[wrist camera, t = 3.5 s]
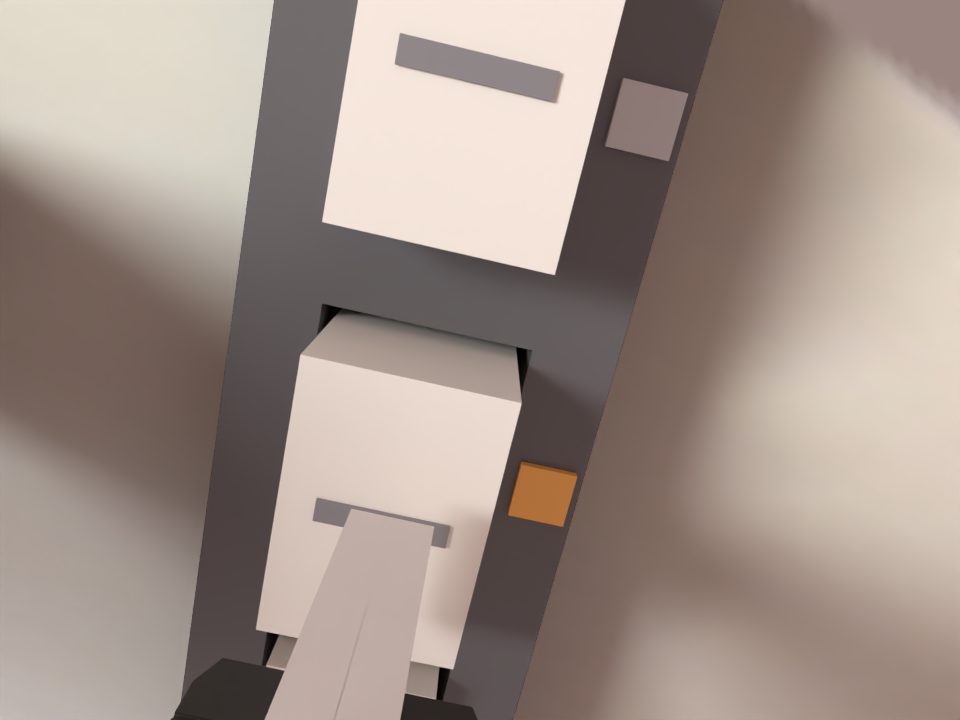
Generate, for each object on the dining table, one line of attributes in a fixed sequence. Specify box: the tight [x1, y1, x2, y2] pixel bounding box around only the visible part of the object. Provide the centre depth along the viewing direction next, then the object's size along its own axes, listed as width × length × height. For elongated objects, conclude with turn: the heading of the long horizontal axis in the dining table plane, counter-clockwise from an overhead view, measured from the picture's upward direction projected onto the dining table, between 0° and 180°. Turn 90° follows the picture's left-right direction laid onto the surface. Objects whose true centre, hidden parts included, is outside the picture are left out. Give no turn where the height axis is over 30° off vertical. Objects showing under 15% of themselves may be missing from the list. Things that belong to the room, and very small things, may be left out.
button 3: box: [322, 0, 626, 275], centre depth 15 cm, size 4×6×5 cm
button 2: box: [256, 308, 522, 669], centre depth 18 cm, size 4×6×5 cm
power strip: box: [181, 0, 723, 720], centre depth 20 cm, size 9×36×5 cm, turn 167°
